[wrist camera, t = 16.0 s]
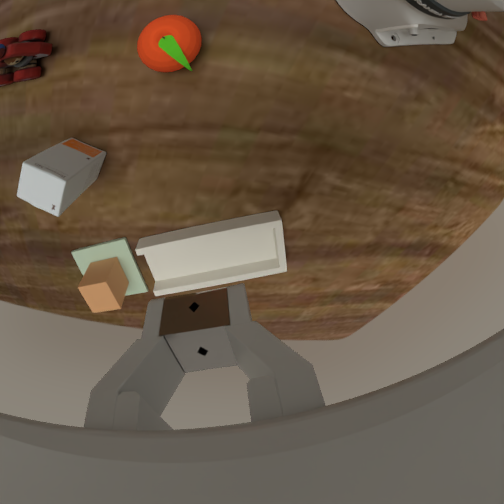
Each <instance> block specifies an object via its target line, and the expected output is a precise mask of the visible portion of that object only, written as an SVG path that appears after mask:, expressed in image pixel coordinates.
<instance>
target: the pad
mask: <svg viewBox="0 0 504 504" xmlns="http://www.w3.org/2000/svg"><path fill="white" fill-rule="evenodd" d="M71 253H72V255H73V257H74V259H75V261H76V263H77V265H78V267H79V269H80V271H81V272H82V274H83V276H84V274H85V272H86V270H87V268H88V266H89V264H90V263H92V262H96V261H100V260H105V259H109V258H114V257H117V258H118V260H119V262H120V265H121V267H122V269H123V271H124V273H125V275H126V277H127V279H128V281H129V284H128V287H127V290H126V294H125V296H126V295H132V294H137V293H143V292H148V287H147V285H146V283H145V281H144V279H143V276H142V274H141V272H140V270H139V267H138V265H137V263H136V260H135V258H134V256H133V253H132V251H131V249H130V246H129V244H128V241H127V239H126V237H124V238H119V239H115V240H111V241H107V242H103V243H99V244H95V245H91V246H88V247H84V248H80V249H76V250H73V251H72V252H71Z"/></svg>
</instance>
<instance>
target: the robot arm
mask: <svg viewBox="0 0 504 504" xmlns="http://www.w3.org/2000/svg"><path fill="white" fill-rule="evenodd" d="M336 1H337V2H338V4H339V5H340V6H341V7H342V8H343V9H344V11H345V12H346V13H347V14H349V15H350V16H351V17H352V18H353V19H355V20H356V21H357V22H359V23H360V24H362V25H363V26H365V27H366V28H367V29H368V30H369V31H370V32H371V33H372V35H373V36H374V38H375V39H376V40H377V41H378V43H379V44H380V45H382V46H384V47H394V46H407V45H433V44H453V43H454V41H455V38H456V34H457V31H463V30H464V29H465V28H466V25H467V18H468V16H467V14H469V13H470V12H472V17H473V18H474V19H477V20H481V21H486V20H487V16H486V13H485V11H490V12H504V0H336ZM391 36H392V37H393V39H394V40H392V39H391ZM236 365H238V367H239V368H240V369H241V370H242V371H243V372H244V373H245V374H246V375H247V377H248V378H249V379H250V380H249V382H248V383H247V389H248V390H247V391H248V399H249V407H250V415H251V422H248V423H241V424H234V425H226V426H217V427H208V428H195V429H180V430H173V429H172V428H171V427H170V426H169V425H168V424H167V423H166V422H165V421H164V420H163V419H162V418H161V417H160V416H161V414H162V412H163V410H164V409H165V407H166V406H167V404H168V402H169V400H170V399H171V397H172V395H173V394H174V392H175V390H176V389H177V387H178V385H179V384H180V382H181V380H182V378H183V377H184V375H185V373H186V372H193V371H200V370H205V369H213V368H220V367H229V366H236ZM0 504H504V329H503V330H501V331H499V332H498V333H496V334H494V335H493V336H491V337H489V338H488V339H486V340H484V341H483V342H481V343H479V344H477V345H476V346H474V347H472V348H470V349H469V350H467V351H465V352H463V353H461V354H459V355H457V356H455V357H453V358H451V359H449V360H447V361H445V362H443V363H441V364H439V365H437V366H435V367H433V368H430V369H428V370H426V371H424V372H421V373H419V374H417V375H415V376H412V377H410V378H407V379H405V380H402V381H400V382H397V383H395V384H392V385H390V386H387V387H384V388H382V389H379V390H376V391H373V392H370V393H368V394H364V395H361V396H358V397H355V398H352V399H349V400H345V401H342V402H339V403H335V404H332V405H328V406H325V403H324V399H323V396H322V393H321V390H320V387H319V384H318V380H317V377H316V374H315V371H314V368H313V365H312V364H311V363H310V362H308V361H307V360H306V359H304V358H303V357H302V356H300V355H299V354H298V353H296V352H294V350H292V349H291V348H290V347H288V346H287V345H286V344H285V343H283V342H282V341H281V340H279V339H278V338H277V337H276V336H274V335H273V334H272V333H270V332H269V331H268V330H267V329H265V328H264V327H263V326H261V325H260V324H259V323H258V322H256V321H252V317H251V313H250V308H249V303H248V299H247V294H246V289H245V285H244V284H243V283H242V284H237V285H232V286H228V287H225V288H220V289H214V290H209V291H204V292H198V293H192V294H185V295H179V296H172V297H166V298H160V299H153V300H151V301H150V302H149V303H148V307H147V312H146V317H145V322H144V327H143V332H142V338H141V339H137V340H136V341H135V342H134V343H133V344H132V345H131V346H130V348H129V349H128V350H127V351H126V352H125V353H124V354H123V355H122V356H121V358H120V359H119V360H118V361H117V362H116V363H115V364H114V365H113V366H112V368H111V369H110V370H109V371H108V372H107V373H106V374H105V375H104V377H103V378H102V379H101V380H100V381H99V382H98V383H97V385H96V386H95V387H94V388H93V389H92V390H91V393H90V398H89V403H88V408H87V413H86V418H85V424H84V427H74V426H66V425H59V424H52V423H46V422H40V421H35V420H29V419H25V418H21V417H16V416H12V415H8V414H4V413H0Z"/></svg>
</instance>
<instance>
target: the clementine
mask: <svg viewBox="0 0 504 504" xmlns="http://www.w3.org/2000/svg"><path fill="white" fill-rule="evenodd" d="M201 40H202V37H201V34H200V30H199V29H198V27H197V26H196V24H194V23H193V22H192V21H191V20H189V19H188V18H185V17H183V16H178V15H166V16H163V17H160V18H157V19H155V20H154V21H152V22H150V23H149V24H148V25H147V26H146V27H145V28H144V29H143V31H142V32H141V34H140V36H139V39H138V42H137V50H138V54H139V57H140V58H141V60H142V62H143V63H144V64H145V65H146V66H148V67H149V68H151V69H153V70H155V71H159V72H173V71H176V70H179V69H182V68H183V67H186V68H187V69H189V70H191V71H192V69H191V67H190V65H189V63H191V62H192V61H193V60H194V59H195V57H196V56H197V54H198V53H199V50H200V47H201ZM192 72H193V71H192Z"/></svg>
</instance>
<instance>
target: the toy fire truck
mask: <svg viewBox="0 0 504 504" xmlns="http://www.w3.org/2000/svg"><path fill="white" fill-rule="evenodd" d="M45 37H46V31H45V30H41V29H38V30H30V31H26V32H24V33H22V34H21V35H20V36H19V38H16V37H11V38H5V39H2V40H0V87H1V86H5V85H8V84H11V83H13V82H20V81H26V80H32V79H36V78H39V77H40V75H41V67H39V66H37V67H36V65H37V60H36V59H37V58H41V57H45V56H48V55H50V54H51V51H52V44H49V43H45V42H43V41H44V40H45ZM10 66H14V67H20V69H19V70H17V71H15V72H14V73H6V74H5V71H6V68H8V67H10Z"/></svg>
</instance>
